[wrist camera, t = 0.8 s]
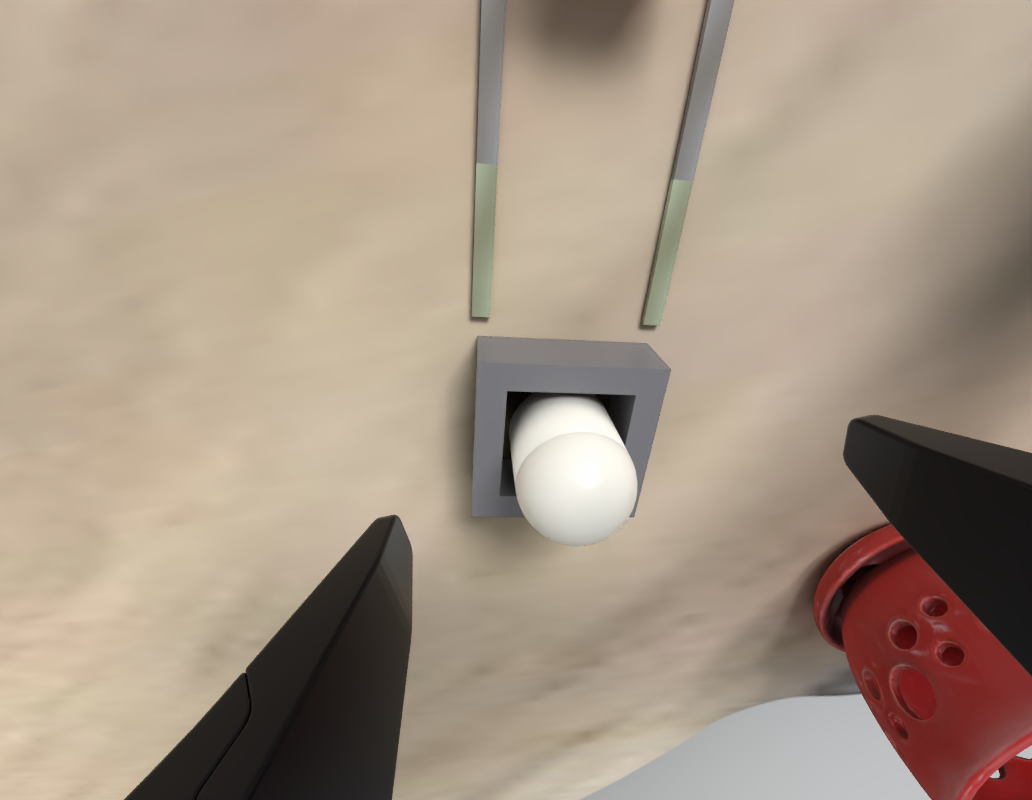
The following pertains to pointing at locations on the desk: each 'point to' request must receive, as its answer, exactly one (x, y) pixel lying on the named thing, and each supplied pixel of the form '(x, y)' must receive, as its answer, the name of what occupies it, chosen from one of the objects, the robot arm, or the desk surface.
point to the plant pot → (929, 671)
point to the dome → (571, 468)
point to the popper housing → (560, 370)
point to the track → (682, 170)
